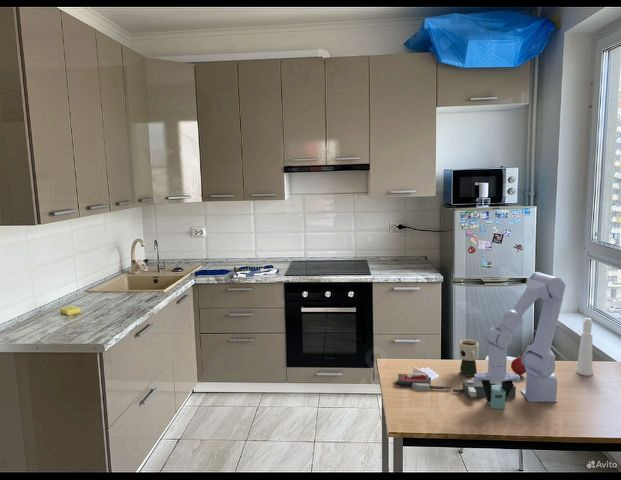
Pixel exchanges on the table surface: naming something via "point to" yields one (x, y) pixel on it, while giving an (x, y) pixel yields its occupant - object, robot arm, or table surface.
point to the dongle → (472, 391)
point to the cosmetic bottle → (585, 350)
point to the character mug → (468, 356)
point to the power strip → (480, 388)
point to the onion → (518, 366)
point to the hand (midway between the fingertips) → (496, 400)
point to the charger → (497, 397)
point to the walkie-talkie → (417, 381)
